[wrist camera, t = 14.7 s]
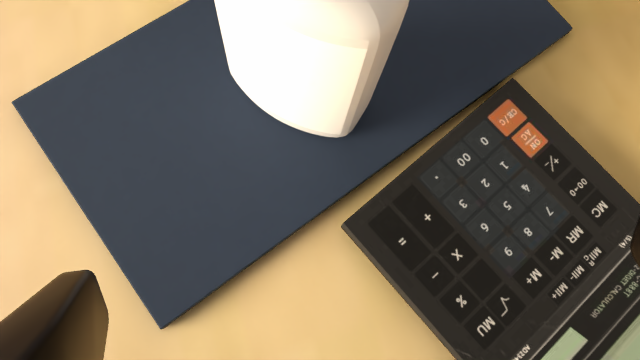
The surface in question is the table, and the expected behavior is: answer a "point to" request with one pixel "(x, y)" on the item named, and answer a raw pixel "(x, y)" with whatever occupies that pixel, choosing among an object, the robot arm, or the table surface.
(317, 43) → the eye dropper bottle
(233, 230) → the placemat
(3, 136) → the table surface
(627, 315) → the calculator
